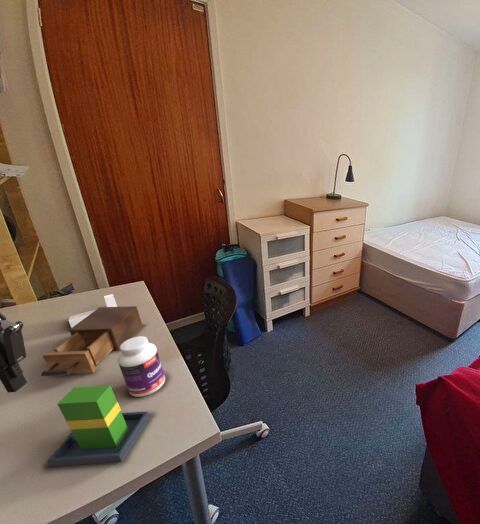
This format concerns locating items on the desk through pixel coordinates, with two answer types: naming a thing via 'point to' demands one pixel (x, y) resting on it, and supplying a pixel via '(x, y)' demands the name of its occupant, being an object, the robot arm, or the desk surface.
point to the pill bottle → (140, 366)
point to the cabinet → (112, 323)
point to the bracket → (79, 317)
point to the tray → (74, 455)
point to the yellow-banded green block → (94, 417)
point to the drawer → (79, 353)
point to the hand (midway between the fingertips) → (17, 387)
